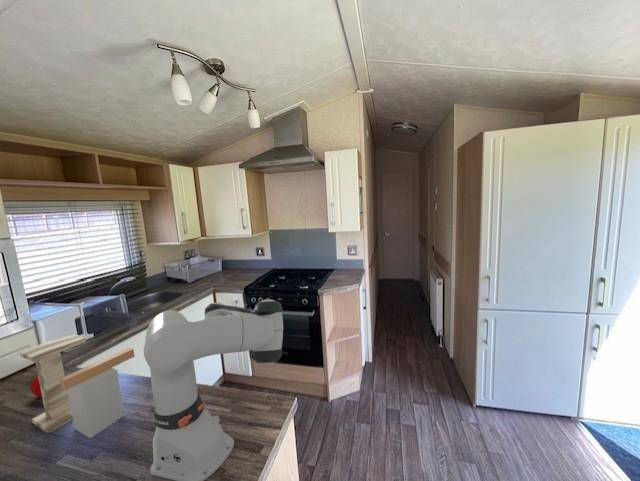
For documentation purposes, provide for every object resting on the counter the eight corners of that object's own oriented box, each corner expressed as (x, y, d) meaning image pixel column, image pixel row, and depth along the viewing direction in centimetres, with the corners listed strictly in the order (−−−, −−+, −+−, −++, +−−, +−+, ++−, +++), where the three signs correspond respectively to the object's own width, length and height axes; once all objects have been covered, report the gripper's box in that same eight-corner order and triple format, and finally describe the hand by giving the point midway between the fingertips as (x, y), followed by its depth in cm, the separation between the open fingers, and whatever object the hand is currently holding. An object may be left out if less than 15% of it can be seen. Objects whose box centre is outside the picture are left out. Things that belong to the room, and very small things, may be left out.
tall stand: (98, 405, 101) (86, 338, 98) (48, 433, 89) (33, 358, 86) (81, 397, 107) (70, 333, 104) (32, 422, 94) (18, 351, 91)
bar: (134, 356, 101) (133, 348, 101) (66, 389, 83) (64, 380, 83) (129, 355, 102) (128, 347, 102) (61, 387, 85) (59, 378, 84)
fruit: (56, 396, 108) (52, 373, 107) (26, 403, 105) (21, 379, 104) (68, 383, 117) (64, 361, 115) (41, 389, 113) (37, 366, 112)
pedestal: (124, 416, 95) (117, 369, 93) (90, 438, 86) (81, 387, 84) (108, 408, 99) (101, 364, 97) (74, 428, 90) (65, 380, 88)
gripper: (198, 344, 115) (168, 344, 103) (169, 335, 125) (139, 334, 113) (202, 328, 116) (173, 327, 105) (173, 320, 127) (143, 318, 115)
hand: (155, 331), depth 109 cm, fingers open, 8 cm apart
